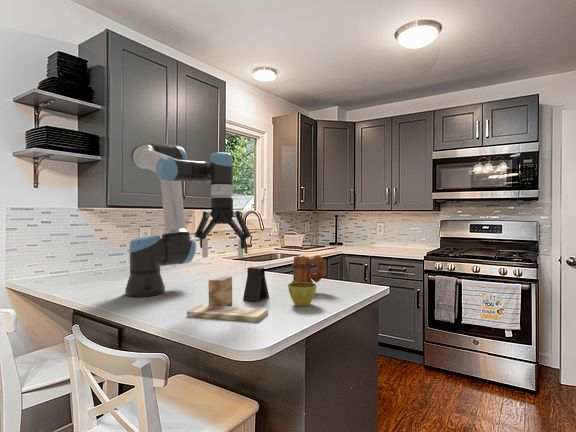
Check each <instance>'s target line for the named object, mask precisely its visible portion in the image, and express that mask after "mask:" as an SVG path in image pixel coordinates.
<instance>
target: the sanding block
mask: <svg viewBox="0 0 576 432" xmlns="http://www.w3.org/2000/svg"><path fill="white" fill-rule="evenodd" d="M208 305H215V306H230V307H231V306H232V305H233V276H229V275H217V276H216V277H213V278H210V279H208Z"/></svg>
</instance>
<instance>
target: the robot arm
mask: <svg viewBox="0 0 576 432" xmlns="http://www.w3.org/2000/svg"><path fill="white" fill-rule="evenodd" d="M129 155H130V159H131V162H132V163H133V165H134V166H135V167H138V168H140V169H142V170H145V169H146V170H150V171H152V172H153V173H156V176H157V178H158V179H159V180H160V185H161V186H160V187H161V199H162V210H163V220H164V221H163V222H164V231H163V233H162V234H161V236H160V235H157V234H154V235H146V236H141V237H140V236H139V237H136V238H133V239H131V240H130V242H129V250H128V253H129V278H128V280H127V284H126V287H125V292H124V294H125V296H126V295H127V297H130V296H131V297H132V298H143V297H152V296H157V295H160V294H161V295H163V294H164V293H165V292H166V286H165V283H164V281H163V276H162V275H161V267H164V266H173V265H184V264H188V263H191V262H192V261H193V259H194V257H195V255H196V252H197V250H196V249H197V244H196V239H195V238H198V239H199V247H200V249H202V250H201V251H202V252H201V256H202V257H201V258H202V259H205V258H208V257H209V255H208V254H209V252H208V251H209V247H208V245H209V244H208V243H209V241H208V240H209V239H208V238H207V236H208V235H209V234H210V233H211V232H212V230H213V229H214V228H215V226H216V225H220V224H221V225H224V224H225V225H229V226H230V227H231V229H232V230H233V231H234V232H235V234H236V235H237V236H238V237H239V239H237V250H238V251H237V258H238V260H239V259H240V260H241V259H242V258H244V249H246V245H247V243H246V240H247V239H248V238H250V237H252V236H251V232H250V231H249V228H248V226H247V224H246V222H245V220H244V218H243V213H242V210H236V211H234V210H233V209H234V199H233V198H232V197H233V196H234V187H233V185H234V184H233V182H234V181H233V178H234V177H233V176H234V171H233V170H234V168H233V167H234V164H233V156H232V154H231V153H229V152H222V151H221V152H220V151H219V152H212V154H211V155H210V160H209V161H200V160H199V161H197V160H189V159H188V155H187V153H186V151H185V149H184V147H182V146H178V145H175V144H165V143H157V142H151V141H149V142H148V141H147V142H146V141H145V142H140V143H139V144H136V145H135V146H134V147H132V149H131V151H130V154H129ZM182 182H191V183H193V182H194V183H199V184H210V192H211V193H210V196H211V198H210V200H211V201H210V203H211V204H210V205H211V206H210V207H211V211H208V210H207V211H206V210H205V211H204V210H203V211H202V218H201V220H200V222H199V225H198V227H197V228H196V231H195V234H194V237H193V236H190V235H191V234H190V231H188V230H187V229H186V222H185V212H184V211H185V210H184V209H185V208H184V203H183V202H184V201H183V199H184V198H183V190H182ZM233 217H235V218H236V221H237V222H238V224H239V226H240V227H239V226H238V224H237V223H236V222H235V220H234V219H233ZM209 218H212V219H211V220H210V221H209ZM208 221H209V224H208ZM206 225H207V226H206Z"/></svg>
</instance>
